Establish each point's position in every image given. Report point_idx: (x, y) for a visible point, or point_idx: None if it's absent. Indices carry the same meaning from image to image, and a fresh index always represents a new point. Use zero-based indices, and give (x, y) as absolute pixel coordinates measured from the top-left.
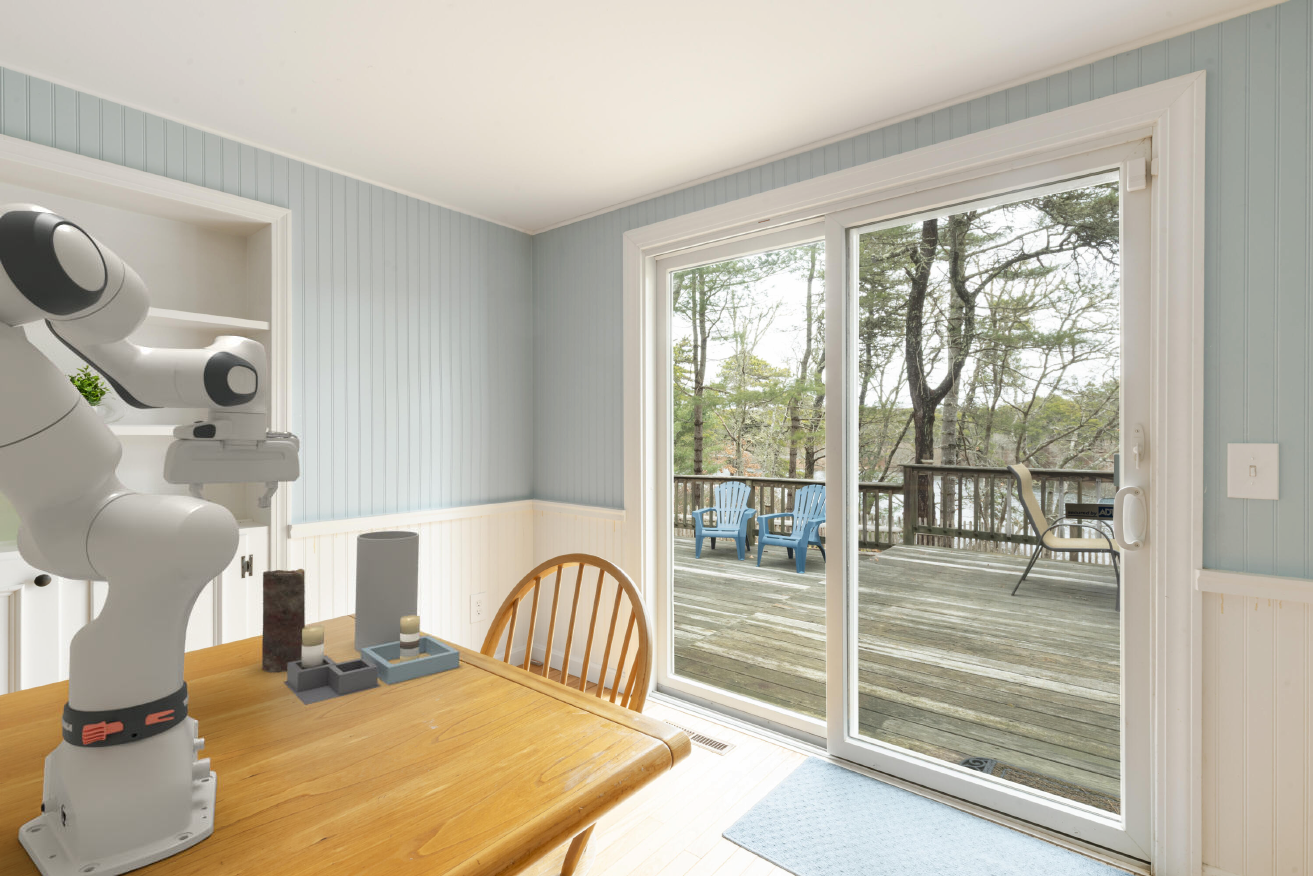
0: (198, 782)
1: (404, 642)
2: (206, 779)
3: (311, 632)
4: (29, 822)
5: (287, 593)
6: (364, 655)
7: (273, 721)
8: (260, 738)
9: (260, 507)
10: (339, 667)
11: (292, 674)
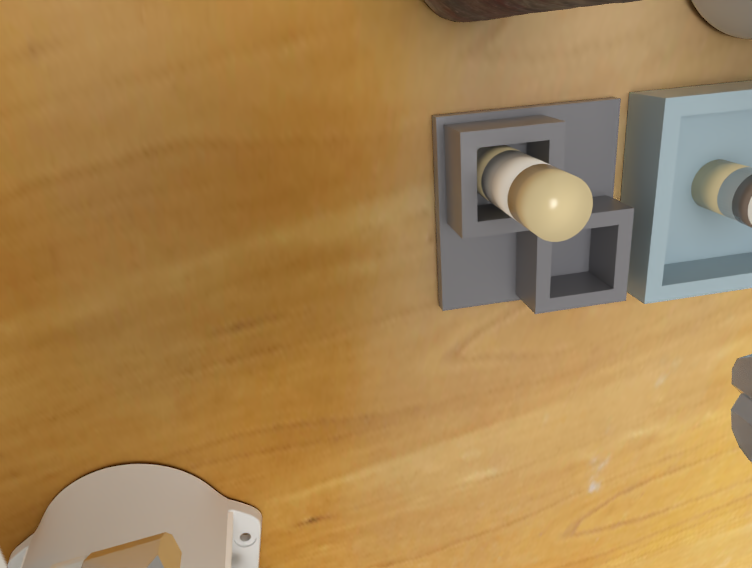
0: (235, 545)
1: (748, 222)
2: (247, 532)
3: (543, 238)
4: (15, 561)
5: (579, 6)
6: (654, 129)
7: (373, 327)
8: (339, 395)
9: (732, 412)
10: None
11: (455, 184)
